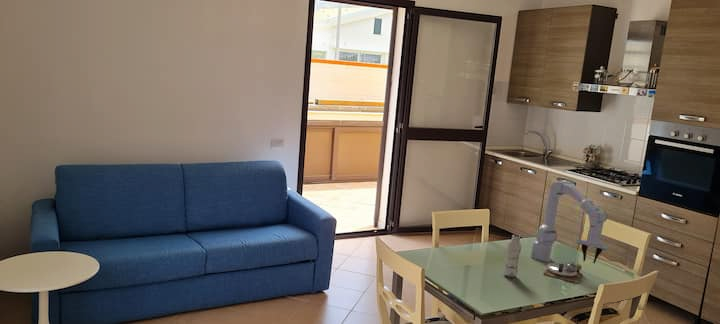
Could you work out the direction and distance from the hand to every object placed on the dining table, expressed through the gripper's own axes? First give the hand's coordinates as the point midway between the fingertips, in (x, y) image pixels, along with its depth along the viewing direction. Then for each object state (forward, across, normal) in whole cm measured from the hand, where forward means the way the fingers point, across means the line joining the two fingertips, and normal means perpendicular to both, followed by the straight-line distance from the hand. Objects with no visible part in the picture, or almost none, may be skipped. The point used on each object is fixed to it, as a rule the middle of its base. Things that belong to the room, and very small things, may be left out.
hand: (589, 261), depth 268 cm
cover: (+7, -8, 0) cm, 10 cm away
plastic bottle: (+10, -32, -24) cm, 41 cm away
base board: (+9, -10, -1) cm, 14 cm away
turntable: (+9, -12, 0) cm, 15 cm away
